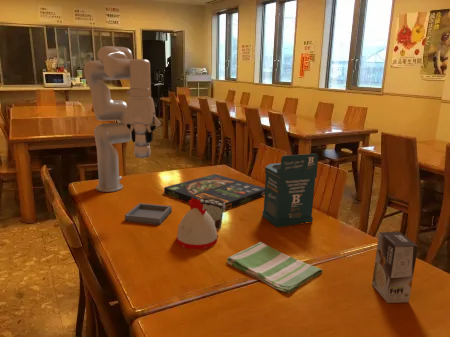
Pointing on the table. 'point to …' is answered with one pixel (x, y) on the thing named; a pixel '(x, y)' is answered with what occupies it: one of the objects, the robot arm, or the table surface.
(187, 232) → the kitchen timer
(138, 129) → the plastic bottle
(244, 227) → the table surface
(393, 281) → the coffee box
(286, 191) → the donation box
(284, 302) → the table surface
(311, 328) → the table surface
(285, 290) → the dish towel
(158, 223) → the tray
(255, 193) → the pizza box
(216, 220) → the food container
